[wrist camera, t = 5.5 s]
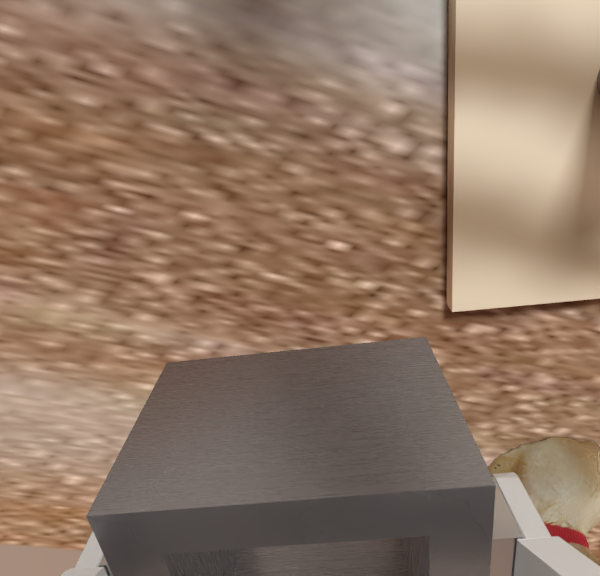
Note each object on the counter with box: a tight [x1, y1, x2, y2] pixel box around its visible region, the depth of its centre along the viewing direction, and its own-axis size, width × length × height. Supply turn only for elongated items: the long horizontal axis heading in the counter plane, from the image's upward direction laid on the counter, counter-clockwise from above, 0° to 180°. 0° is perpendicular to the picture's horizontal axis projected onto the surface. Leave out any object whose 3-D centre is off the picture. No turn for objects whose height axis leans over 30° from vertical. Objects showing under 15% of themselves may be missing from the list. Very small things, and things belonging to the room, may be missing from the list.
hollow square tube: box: [86, 337, 496, 576], centre depth 10 cm, size 6×6×4 cm
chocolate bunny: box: [487, 437, 600, 566], centre depth 23 cm, size 6×8×10 cm
